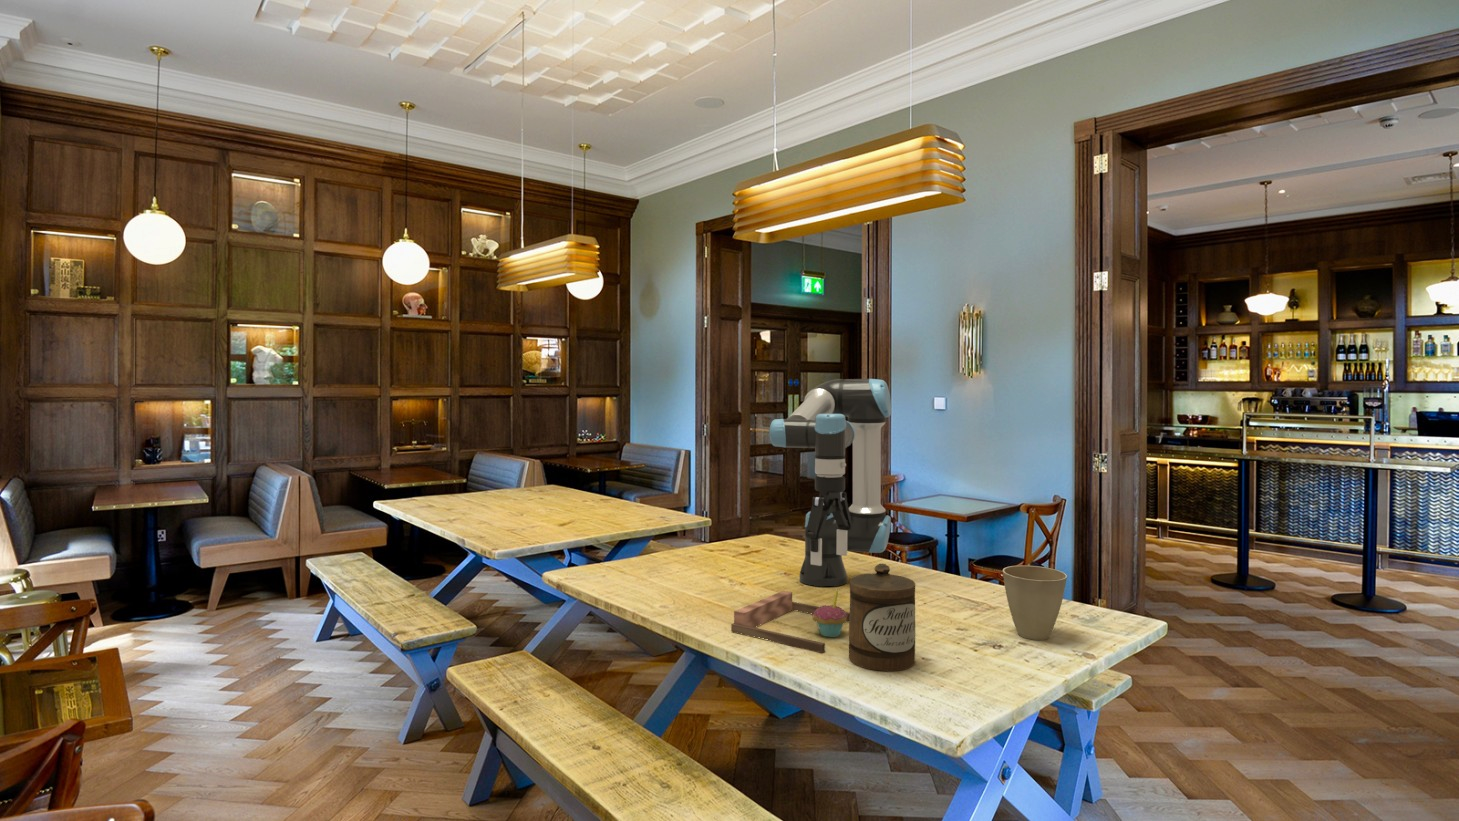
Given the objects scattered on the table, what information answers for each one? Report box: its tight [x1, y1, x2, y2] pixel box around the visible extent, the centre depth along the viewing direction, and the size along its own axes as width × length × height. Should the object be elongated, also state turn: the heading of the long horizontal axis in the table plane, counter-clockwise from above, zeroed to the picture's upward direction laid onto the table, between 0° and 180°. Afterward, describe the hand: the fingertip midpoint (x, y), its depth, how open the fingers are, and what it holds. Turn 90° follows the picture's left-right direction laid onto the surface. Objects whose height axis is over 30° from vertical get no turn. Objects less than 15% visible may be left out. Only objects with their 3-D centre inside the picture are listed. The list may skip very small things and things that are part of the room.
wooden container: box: [848, 563, 916, 672], centre depth 171 cm, size 15×15×22 cm
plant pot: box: [1002, 565, 1068, 641], centre depth 189 cm, size 15×15×16 cm
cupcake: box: [812, 587, 848, 638], centre depth 189 cm, size 9×8×12 cm
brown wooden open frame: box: [730, 590, 850, 654], centre depth 194 cm, size 26×26×5 cm
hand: (829, 559), depth 189 cm, fingers open, 13 cm apart
